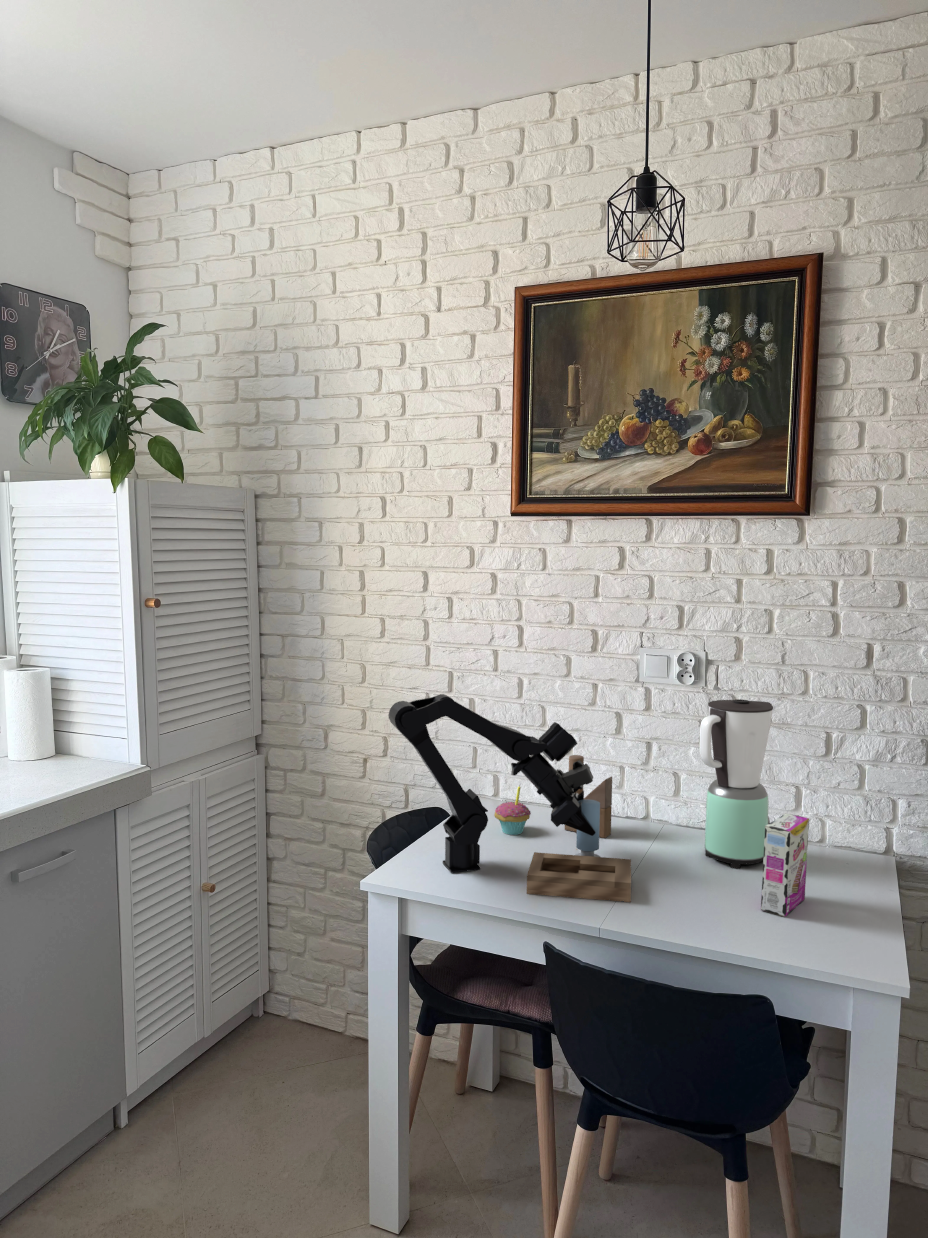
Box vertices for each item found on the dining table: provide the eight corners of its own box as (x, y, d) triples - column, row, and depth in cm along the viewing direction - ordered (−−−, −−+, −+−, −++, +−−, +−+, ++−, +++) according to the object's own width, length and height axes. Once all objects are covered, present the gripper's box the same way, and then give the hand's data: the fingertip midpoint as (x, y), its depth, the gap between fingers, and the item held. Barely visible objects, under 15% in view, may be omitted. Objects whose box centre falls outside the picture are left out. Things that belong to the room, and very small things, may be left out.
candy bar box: (786, 918, 160) (790, 831, 159) (760, 911, 163) (763, 825, 162) (807, 900, 169) (810, 817, 167) (781, 893, 172) (784, 812, 171)
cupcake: (536, 830, 209) (536, 781, 208) (519, 840, 202) (519, 789, 201) (505, 824, 214) (505, 776, 213) (487, 833, 207) (487, 784, 206)
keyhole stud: (581, 868, 183) (582, 808, 182) (568, 858, 189) (569, 800, 188) (606, 865, 185) (607, 805, 184) (593, 856, 191) (594, 797, 190)
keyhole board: (526, 893, 171) (526, 875, 170) (534, 870, 183) (534, 852, 183) (630, 902, 167) (631, 883, 167) (630, 877, 180) (631, 859, 179)
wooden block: (604, 839, 203) (606, 763, 202) (564, 830, 209) (565, 756, 208) (611, 835, 206) (613, 760, 205) (571, 826, 212) (572, 753, 211)
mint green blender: (739, 843, 201) (744, 693, 198) (786, 862, 189) (792, 702, 186) (677, 857, 192) (681, 699, 189) (723, 877, 180) (728, 710, 177)
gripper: (568, 762, 177) (621, 819, 176) (574, 742, 195) (622, 794, 194) (528, 798, 179) (581, 854, 178) (538, 775, 197) (586, 826, 196)
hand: (594, 830), depth 186 cm, fingers closed on keyhole stud, 5 cm apart
